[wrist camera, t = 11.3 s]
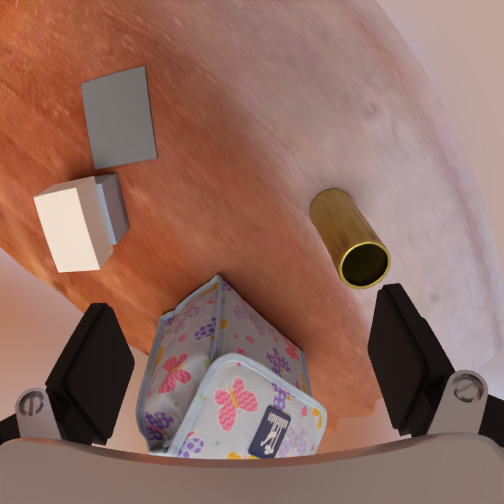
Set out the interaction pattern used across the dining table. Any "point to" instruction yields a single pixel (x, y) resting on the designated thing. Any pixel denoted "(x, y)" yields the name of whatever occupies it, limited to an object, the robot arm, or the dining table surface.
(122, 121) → the mat
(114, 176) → the open box
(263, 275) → the dining table surface
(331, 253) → the vase
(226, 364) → the lunch bag
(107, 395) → the robot arm
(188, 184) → the dining table surface
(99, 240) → the lid
